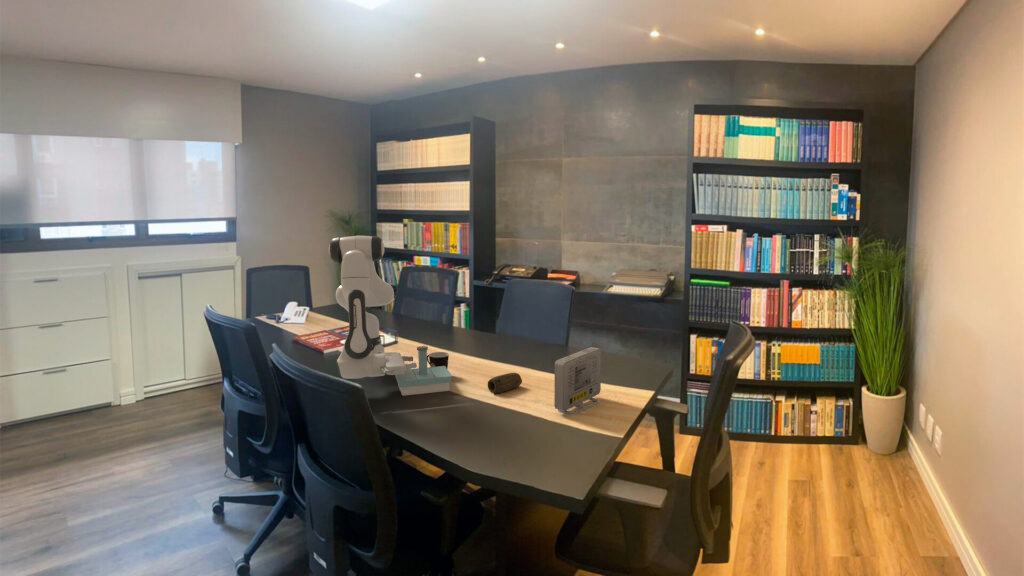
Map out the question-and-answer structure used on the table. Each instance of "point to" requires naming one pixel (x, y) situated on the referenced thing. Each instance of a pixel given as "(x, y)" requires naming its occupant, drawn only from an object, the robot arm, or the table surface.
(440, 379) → the lid
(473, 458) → the table surface
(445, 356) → the coffee mug
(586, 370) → the network device
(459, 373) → the table surface
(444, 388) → the tub
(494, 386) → the hollow wooden cylinder
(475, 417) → the table surface
